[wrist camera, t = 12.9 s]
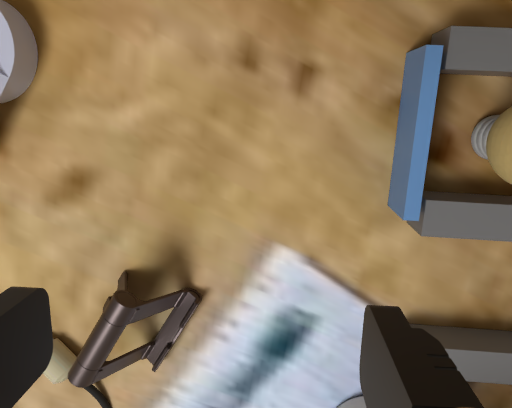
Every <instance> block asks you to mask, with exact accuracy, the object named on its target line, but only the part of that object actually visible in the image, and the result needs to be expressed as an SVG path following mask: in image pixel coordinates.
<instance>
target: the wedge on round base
mask: <svg viewBox="0 0 512 408" xmlns="http://www.w3.org/2000/svg"><path fill="white" fill-rule="evenodd" d="M37 63H38V50H37V44H36V40H35V37H34V34H33V32H32V30H31V28H30V26H29V24H28V23H27V21H26V20H25V18H24V17H23V16H22V15H21V14H20V13H19V12H18V11H17V10H16V9H15V8H14V7H13V6H11V5H10V4H8V3H7V2H5V1H3V0H0V103H5V102H8V101H11V100H13V99H15V98H17V97H18V96H20V95H21V94H22V93H24V92H25V91H26V89H27V88H28V87H29V86H30V84H31V82H32V81H33V78H34V76H35V73H36V69H37Z"/></svg>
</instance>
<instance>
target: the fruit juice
mask: <svg viewBox="0 0 512 408" xmlns="http://www.w3.org/2000/svg"><path fill="white" fill-rule="evenodd" d="M337 408H366V404H365V401H364V397H363V396H360V397H356V398H352V399H350V400H348V401H346V402H344V403H342V404H341V405H340V406H338V407H337Z"/></svg>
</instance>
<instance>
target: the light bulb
mask: <svg viewBox="0 0 512 408" xmlns="http://www.w3.org/2000/svg"><path fill="white" fill-rule="evenodd" d="M471 143H472V147H473V149H474V151H475V152H476V153H477V154H478V155H479V156H480V157H482V158H484V159H488V160H489V163H490V165H491V167H492V168H493V170H494V171H495V172H496V173H497V174H498V175H499V176H500V177H501V178H502V179H503V180H505V181H506V182H508V183H510V184H512V106H511V107H510V108H508V109H507V110H506V111H505V112H503V113H502V114H501V115H492V116H489V117H487V118H485V119H483V120H481V121H480V122H479V123H478V124H477V125H476V127H475V128H474V130H473V132H472V136H471Z"/></svg>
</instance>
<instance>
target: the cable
mask: <svg viewBox="0 0 512 408" xmlns="http://www.w3.org/2000/svg"><path fill="white" fill-rule="evenodd" d="M76 358H77V357H76V356H75V355H74V354H73V353H72V352H71V351H70V350H69V349H68V348H67V347H66V346H65V345H64V344H63V343H62V342H61V341H60V340H59V339H58V338H56V339H55V340H54V339H53V353H52V357H51V360H50V363H49V365H48V367H47V368H46V370H45V371H44V372H43V374H44V375H45V376H46V377H47V378H48V379H49V380H50V381H51V382H52V383H53V384H56V383H59V382H60V383H61V382H63V381H64V380H66V379H68V372H69V370H70V369H71V367H72V365H73V363H74V362H75V360H76ZM83 388H84V389H86V390H87V391H88V392H89V393H90V394H91V395H93V396H94V397H95V398H96V400H97V401H98V402H99V403H100V405H101V406H102V408H111V407H110V404H109V403H108V401H107V400H106V398H105V397H104V396H103V394H102V393H101V392H100V391H99V390H98V389H97V388H96V387H95V386H93V385H92V384H91V385H89V386H87V387H83Z"/></svg>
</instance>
